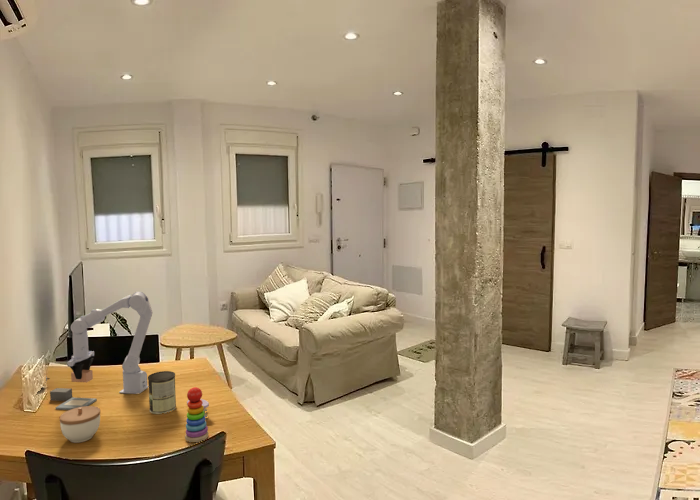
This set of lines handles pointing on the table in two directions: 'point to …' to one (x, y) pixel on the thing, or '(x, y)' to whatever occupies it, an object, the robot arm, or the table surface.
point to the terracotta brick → (83, 376)
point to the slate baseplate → (76, 403)
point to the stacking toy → (195, 417)
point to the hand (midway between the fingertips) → (82, 376)
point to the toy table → (205, 405)
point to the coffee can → (162, 392)
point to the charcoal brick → (61, 394)
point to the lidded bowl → (80, 423)
